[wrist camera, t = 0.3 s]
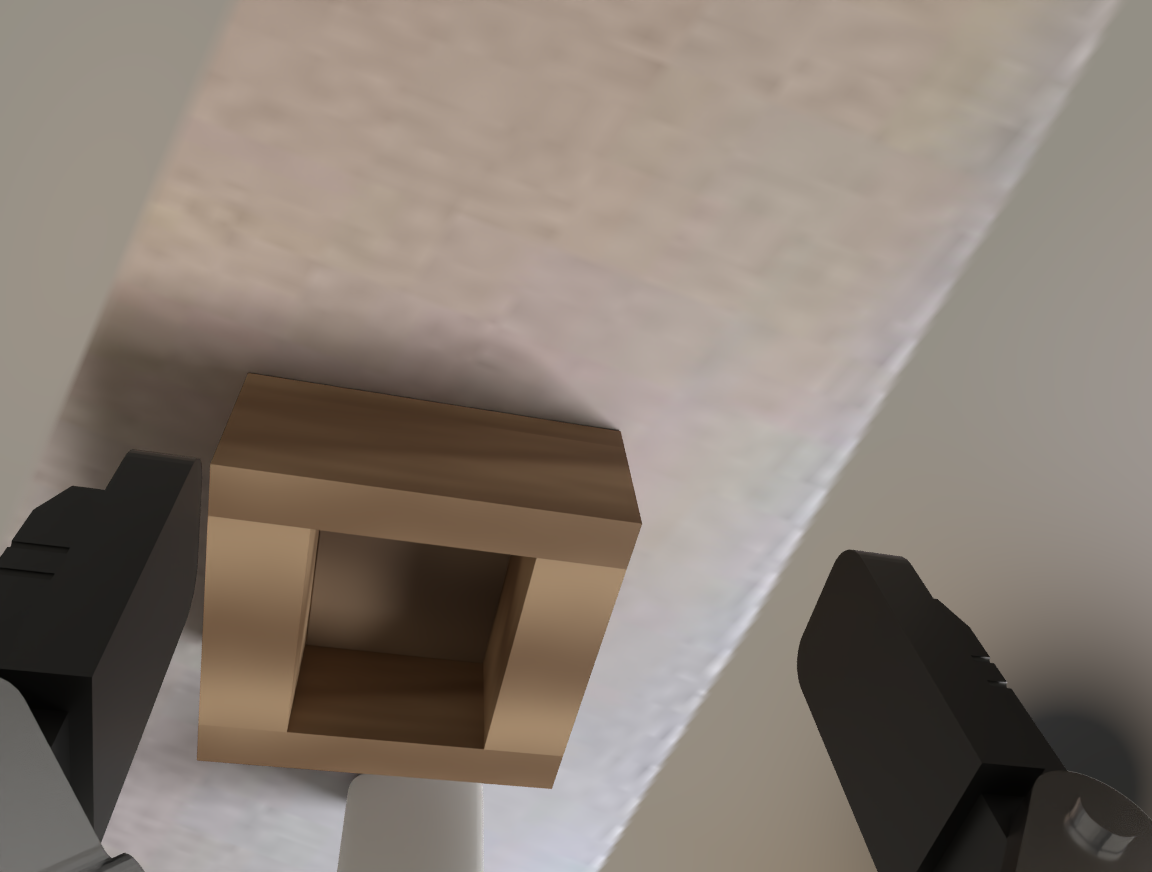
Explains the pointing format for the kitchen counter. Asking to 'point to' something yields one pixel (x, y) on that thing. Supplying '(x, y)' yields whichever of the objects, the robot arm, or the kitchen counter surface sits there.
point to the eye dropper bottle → (412, 825)
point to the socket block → (405, 584)
